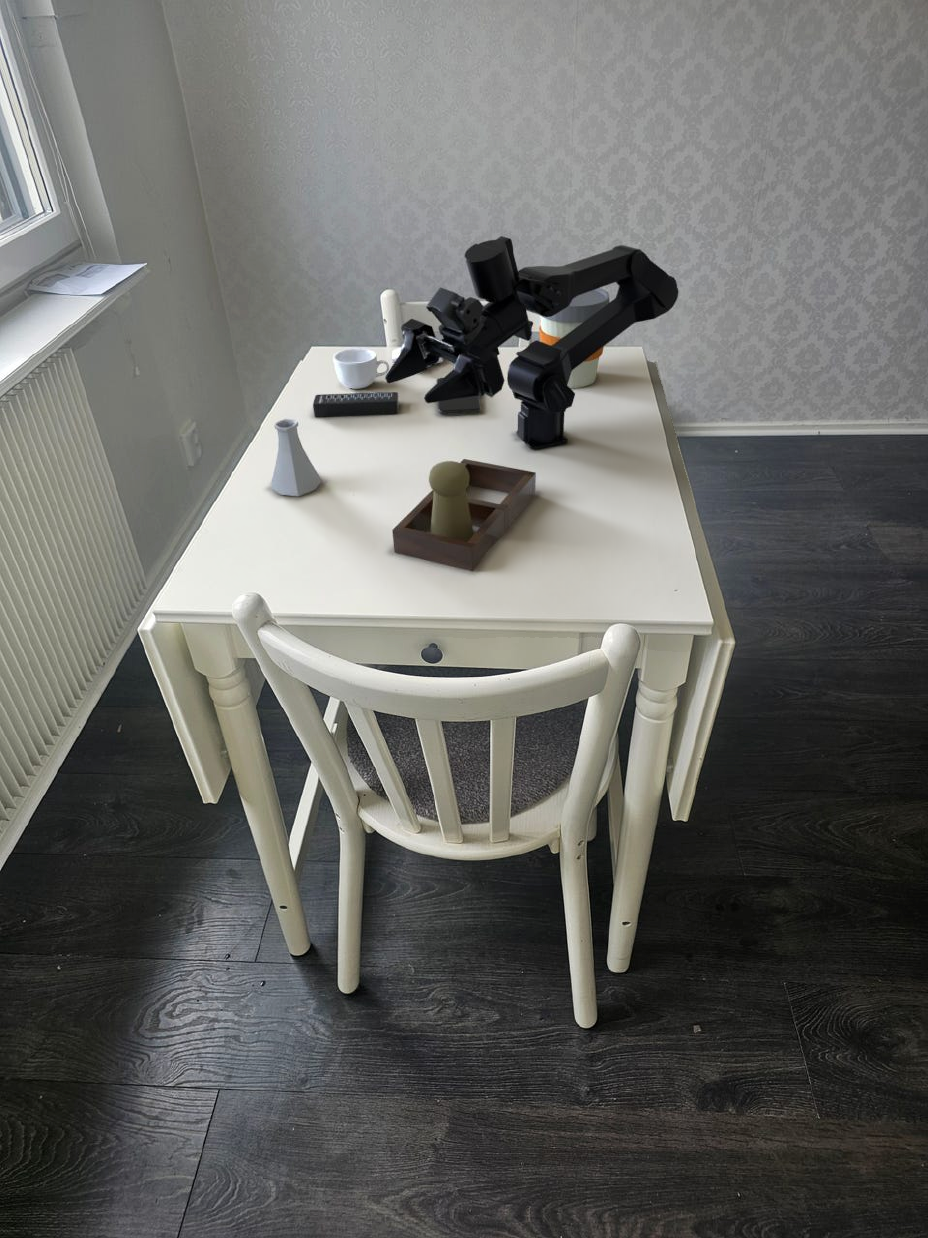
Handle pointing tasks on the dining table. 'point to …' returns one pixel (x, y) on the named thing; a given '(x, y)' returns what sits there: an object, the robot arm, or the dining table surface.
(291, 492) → the flask
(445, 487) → the olive pawn
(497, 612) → the dining table surface
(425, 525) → the frame
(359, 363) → the teacup
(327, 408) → the multiport hub
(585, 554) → the dining table surface
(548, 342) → the reusable coffee cup
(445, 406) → the smartphone
